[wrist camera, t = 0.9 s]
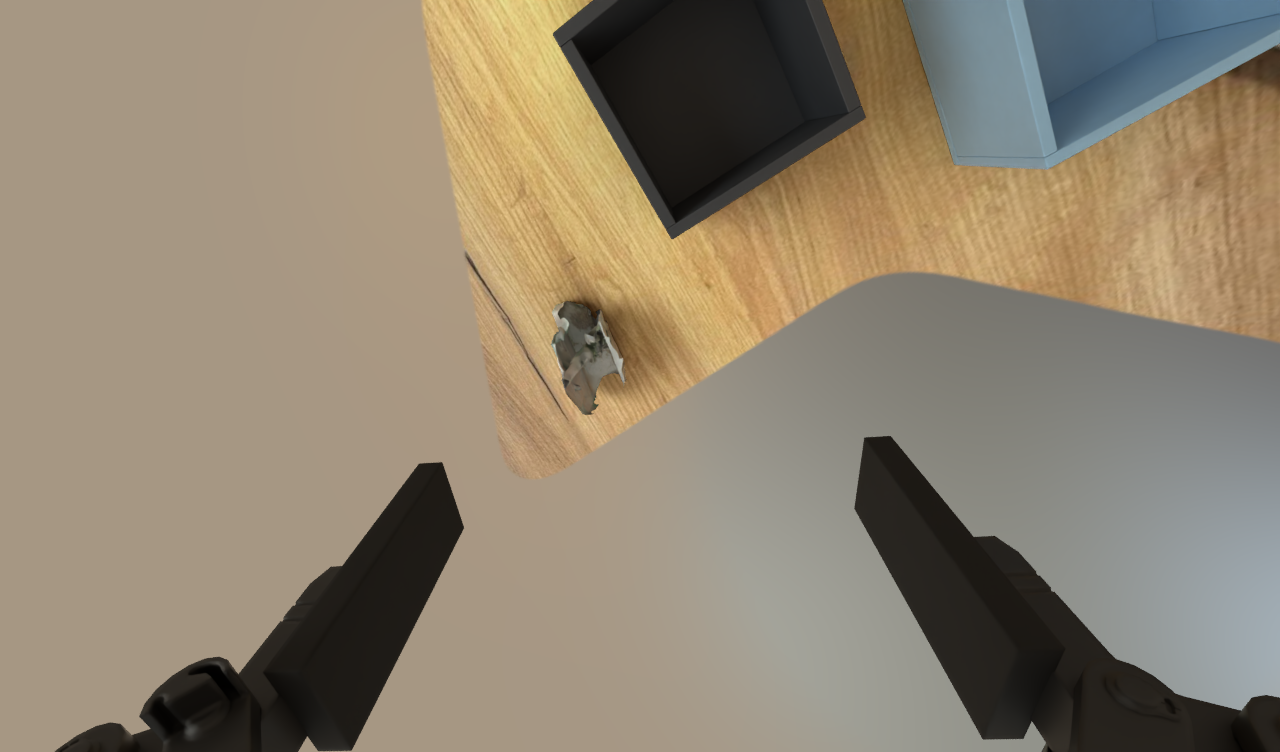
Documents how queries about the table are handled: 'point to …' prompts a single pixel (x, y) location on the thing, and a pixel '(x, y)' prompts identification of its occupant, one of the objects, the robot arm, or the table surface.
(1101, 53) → the paper bin
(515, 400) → the table surface
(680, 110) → the waste bin
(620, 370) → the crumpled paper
